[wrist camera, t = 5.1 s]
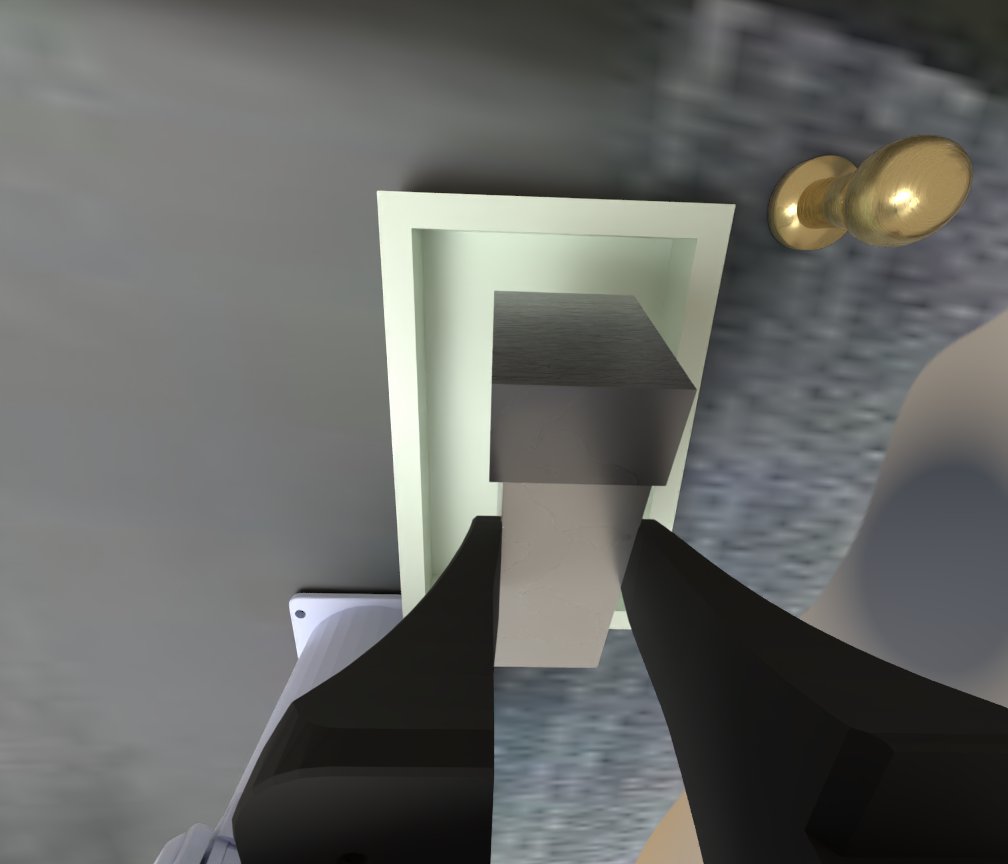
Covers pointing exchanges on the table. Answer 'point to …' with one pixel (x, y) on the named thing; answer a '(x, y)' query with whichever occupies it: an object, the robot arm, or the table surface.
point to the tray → (469, 333)
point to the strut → (574, 462)
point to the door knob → (872, 195)
